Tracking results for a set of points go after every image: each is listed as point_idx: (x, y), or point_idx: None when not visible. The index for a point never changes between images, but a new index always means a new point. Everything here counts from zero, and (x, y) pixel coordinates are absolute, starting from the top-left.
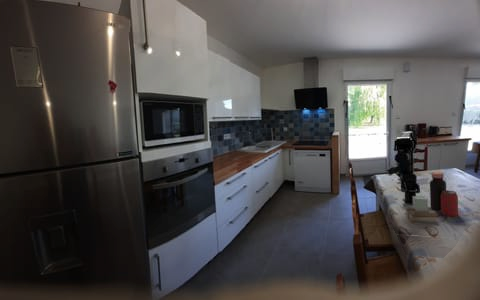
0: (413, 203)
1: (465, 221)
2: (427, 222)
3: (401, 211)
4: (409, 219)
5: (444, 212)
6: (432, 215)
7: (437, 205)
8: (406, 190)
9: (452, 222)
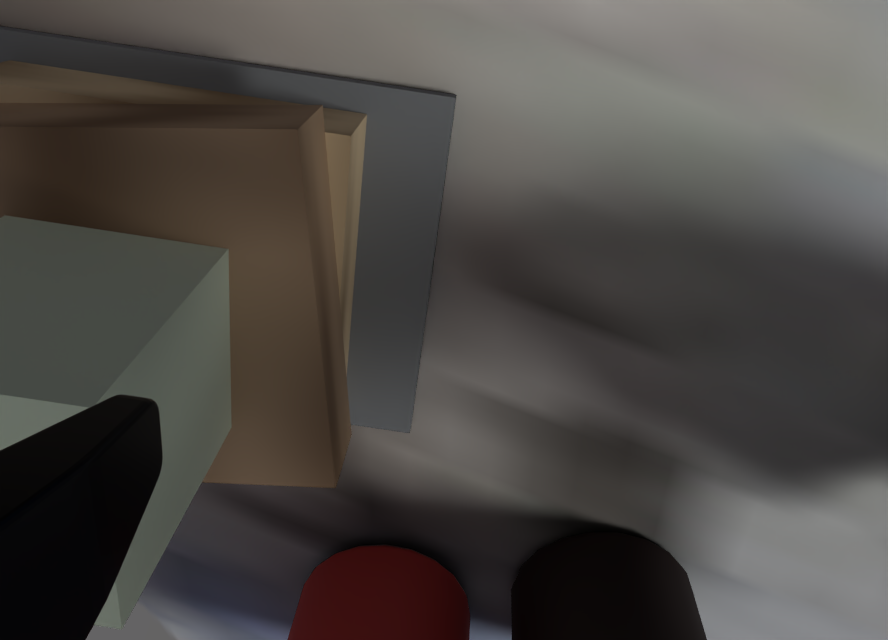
0: (112, 290)
1: (191, 618)
2: None
3: (567, 83)
4: (90, 50)
5: (333, 579)
6: None
7: (530, 624)
8: (97, 406)
9: None
